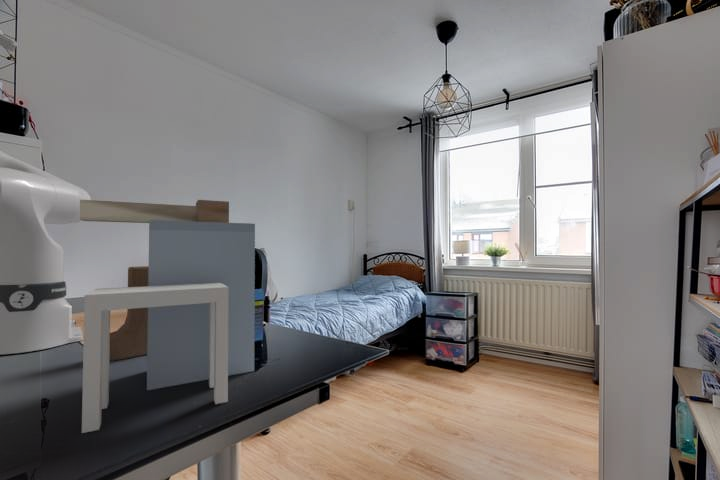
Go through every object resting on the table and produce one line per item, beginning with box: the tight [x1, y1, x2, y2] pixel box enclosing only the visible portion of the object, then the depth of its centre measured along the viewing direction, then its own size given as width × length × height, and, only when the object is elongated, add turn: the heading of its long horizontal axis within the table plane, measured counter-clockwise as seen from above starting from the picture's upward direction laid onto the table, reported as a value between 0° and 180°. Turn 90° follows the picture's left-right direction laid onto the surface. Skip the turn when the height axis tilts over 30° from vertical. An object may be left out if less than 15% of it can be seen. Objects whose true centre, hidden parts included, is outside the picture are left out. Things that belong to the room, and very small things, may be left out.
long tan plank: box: [80, 199, 230, 224], centre depth 57 cm, size 5×21×4 cm, turn 120°
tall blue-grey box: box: [146, 220, 256, 391], centre depth 60 cm, size 10×16×26 cm, turn 120°
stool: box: [81, 283, 229, 434], centre depth 47 cm, size 8×16×16 cm, turn 120°
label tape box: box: [254, 288, 265, 343], centre depth 78 cm, size 9×4×12 cm, turn 141°
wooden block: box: [109, 265, 149, 363], centre depth 69 cm, size 9×4×18 cm, turn 135°
